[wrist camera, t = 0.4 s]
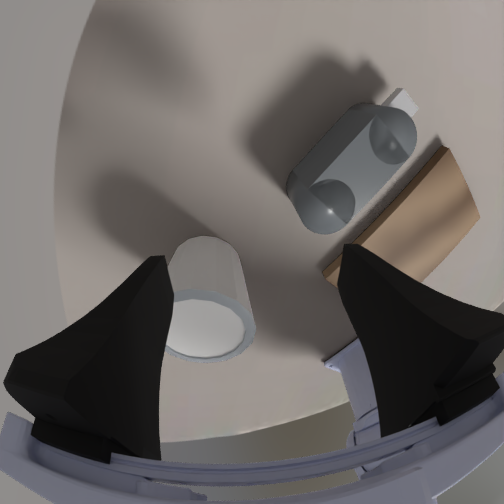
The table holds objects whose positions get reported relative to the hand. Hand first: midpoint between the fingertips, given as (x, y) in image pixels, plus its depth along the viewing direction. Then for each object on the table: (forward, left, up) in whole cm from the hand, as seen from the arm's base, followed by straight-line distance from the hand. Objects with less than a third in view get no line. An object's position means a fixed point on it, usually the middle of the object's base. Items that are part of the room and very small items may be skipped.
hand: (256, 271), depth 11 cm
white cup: (-1, +7, -9) cm, 12 cm away
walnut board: (-14, -6, -9) cm, 18 cm away
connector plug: (-3, -6, -9) cm, 12 cm away
